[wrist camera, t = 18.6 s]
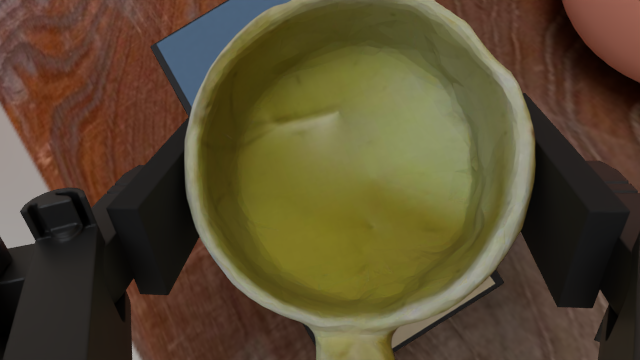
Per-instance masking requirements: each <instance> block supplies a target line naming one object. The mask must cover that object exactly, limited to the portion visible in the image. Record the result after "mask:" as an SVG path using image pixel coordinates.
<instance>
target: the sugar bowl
mask: <svg viewBox="0 0 640 360" xmlns="http://www.w3.org/2000/svg"><path fill="white" fill-rule="evenodd" d="M562 2H563V5H564V8H565V10H566V13H567V15H568V17H569V19H570V21H571V23H572V25H573V26H574V28H575V30H576V31H577V33H578V34H579V35H580V37H581V38H582V40H583V41H584V42H585V44H586V45H587V46H588V47H589V48H590V49H591V50H592V51H593V52H594V53H595V54H596V55H597V56H598V57H599V58H601V59H602V60H603V61H604V62H606V63H607V64H608V65H609V66H611V67H612V68H614V69H615V70H617V71H618V72H620V73H622V74H623V75H625V76H627V77H629V78H631V79H633V80H635V81H637V82H639V83H640V0H562Z"/></svg>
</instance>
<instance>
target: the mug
mask: <svg viewBox="0 0 640 360" xmlns="http://www.w3.org/2000/svg"><path fill="white" fill-rule="evenodd" d="M184 163H185V187H186V195H187V200H188V203H189V207H190V210H191V214H192V218H193V221H194V224H195V227H196V230H197V232H198V234H199V236H200V238H201V240H202V242H203V243H204V245H205V246H206V248H207V250H208V251H209V253H210V254H211V256H212V257H213V259H214V260H215V262H216V263H217V264H218V266H219V267H220V268H221V269H222V271H223V272H224V273H225V275H226V276H227V277H228V279H229V280H230V281H231V283H232V284H233V285H234V286H236V287H237V288H238V289H239V290H241V291H242V292H243V293H244V294H245V295H247V296H248V297H249V298H251V299H252V300H254V301H255V302H257V303H258V304H260V305H261V306H263V307H265V308H268V309H270V310H272V311H274V312H276V313H278V314H280V315H282V316H285V317H287V318H290V319H293V320H296V321H299V322H301V323H303V324H305V325H307V326H308V327H309V328H310V329H311V330H312V332H313V333H314V335H315V340H316V360H395V357H394V354H393V350H392V337H393V334H394V333H395V331H396V330H397V328H399V327H400V326H404V325H407V324H411V323H415V322H420V321H423V320H425V319H428V318H430V317H433V316H435V315H438V314H440V313H443V312H445V311H447V310H449V309H450V308H452V307H453V306H455V305H456V304H458V303H460V302H461V301H462V300H463V299H465V298H466V297H467V296H468V295H469V294H471V293H472V292H473V291H474V290H475V289H476V288H478V287H479V286H480V285H481V284H482V283H483V282H484V281H485V280H486V279H487V278H488V277H489V276H490V275H491V274H492V273H493V272H494V271H495V269H496V268H497V267H498V265H499V264H500V263H501V261H502V260H503V259H504V257H505V256H506V254H507V253H508V251H509V249H510V248H511V246H512V244H513V243H514V241H515V239H516V238H517V236H518V234H519V233H520V231H521V229H522V227H523V224H524V220H525V217H526V213H527V209H528V206H529V202H530V198H531V194H532V190H533V185H534V179H535V166H536V162H535V133H534V129H533V125H532V121H531V117H530V113H529V110H528V108H527V105H526V102H525V100H524V97H523V94H522V92H521V89H520V87H519V84H518V82H517V81H516V79H515V78H514V76H513V75H512V73H511V72H510V71H509V70H507V69H506V68H505V67H504V66H503V65H502V64H500V63H499V62H498V61H497V60H496V59H495V58H494V57H493V56H492V54H491V53H490V52H489V51H488V50H487V48H486V47H485V46H484V45H483V43H482V42H481V41H480V39H479V38H478V37H477V35H476V34H475V33H474V31H473V30H472V28H471V27H470V26H469V25H468V24H467V23H466V22H465V21H464V20H462V19H460V18H458V17H457V16H456V15H454V14H453V13H452V12H450V11H449V10H447V9H446V8H444V7H443V6H441V5H440V4H438V3H437V2H436V1H434V0H291V1H289V2H287V3H284V4H280V5H277V6H273V7H272V8H270V9H268V10H266V11H264V12H262V13H261V14H260V15H258V16H257V17H256V18H255V19H253V20H252V21H251V22H249V23H248V24H247V25H246V26H245V27H244V28H243V29H242V30H241V31H239V32H238V33H237V34H236V36H235V37H234V38H233V39H232V40H231V41H230V42H229V43H228V44H227V46H226V47H225V48H224V49H223V50H222V51H221V53H220V54H219V55H218V57H217V58H216V60H215V61H214V63H213V64H212V65H211V67H210V68H209V71H208V73H207V75H206V77H205V79H204V81H203V83H202V85H201V87H200V89H199V91H198V93H197V95H196V98H195V100H194V103H193V106H192V110H191V114H190V118H189V123H188V127H187V132H186V136H185V154H184Z"/></svg>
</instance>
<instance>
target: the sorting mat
mask: <svg viewBox="0 0 640 360" xmlns="http://www.w3.org/2000/svg"><path fill="white" fill-rule="evenodd" d="M289 1H291V0H227V1H225V2H224V3H222V4H220V5H219V6H217V7H215V8H214V9H212V10H210V11H208V12H207V13H205V14H203V15H202V16H200V17H198V18H197V19H195V20H193V21H192V22H190V23H188V24H187V25H185V26H183V27H182V28H180V29H178V30H177V31H175V32H173V33H172V34H170V35H168V36H167V37H165V38H163V39H162V40H160V41H158V42H157V43H155V44H153V45H152V46H151V49H152V51H153V53H154V54H155V56H156V58H157V60H158V62H159V64H160V65H161V67H162V69H163V71H164V73H165V74H166V76H167V78H168V80H169V82H170V83H171V85H172V87H173V89H174V91H175V93H176V94H177V96H178V98H179V100H180V102H181V103H182V105H183V107H184V109H185V111H186V112H187V114H188V116H190V114H191V110H192V106H193V103H194V100H195V98H196V95H197V93H198V91H199V89H200V87H201V85H202V83H203V81H204V79H205V77H206V75H207V73H208V71H209V68H210V67H211V65H212V64H213V63H214V61H215V60H216V58H217V57H218V55H219V54H220V53H221V51H222V50H223V49H224V48H225V47H226V46H227V44H228V43H229V42H230V41H231V40H232V39H233V38H234V37H235V36H236V34H237V33H238V32H239V31H241V30H242V29H243V28H244V27H245V26H246V25H247V24H248V23H249V22H251V21H252V20H253V19H255V18H256V17H257V16H258V15H260V14H261V13H262V12H264V11H266V10H268V9H270V8H272V7H273V6H277V5H280V4H284V3H287V2H289ZM490 277H491V278H492V280H493V281H494V282H495V284H494V285H492V286H491V287H489V288H488V289H486V290H484V291H483V292H481V293H480V294H478V295H476V296H475V297H473V298H472V299H470V300H468V301H467V302H465V303H464V304H462V305H460V306H459V307H457V308H456V309H454V310H453V311H451V312H449V313H448V314H446V315H445V316H443V317H441V318H440V319H438V320H437V321H435V322H433V323H432V324H430V325H429V326H427V327H425V328H424V329H422V330H421V331H419V332H417V333H416V334H414V335H413V336H411V337H410V338H408V339H406V340H405V341H403V342H402V343H400V344H398V345H397V346H395V347H394V348H392V350H393V353H394V352H395V351H397V350H399V349H400V348H402V347H403V346H405V345H407V344H408V343H410V342H411V341H413V340H414V339H416V338H418V337H419V336H421V335H422V334H424V333H426V332H427V331H429V330H430V329H432V328H434V327H435V326H437V325H438V324H440V323H442V322H443V321H445V320H446V319H448V318H449V317H451V316H453V315H454V314H456V313H457V312H459V311H461V310H462V309H464V308H465V307H467V306H469V305H470V304H472V303H473V302H475V301H477V300H478V299H480V298H481V297H483V296H484V295H486V294H488V293H489V292H491V291H492V290H494V289H496V288H497V287H499V286H500V285H502V284H503V283H504V281H503V280H502V278H501V277H500V275H499V274H498V272H497V271H496V270H495V271H494V272H493V273H492V274H491V275H490ZM303 325H304V326H305V328H306V330H307V332H308V334H309V335H310V337H311V339H312V341H313V343H314V345H315V346H316V340H315V335H314V333H313V332H312V330H311V329H310V328H309V327H308V326H307V325H305V324H303Z"/></svg>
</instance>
